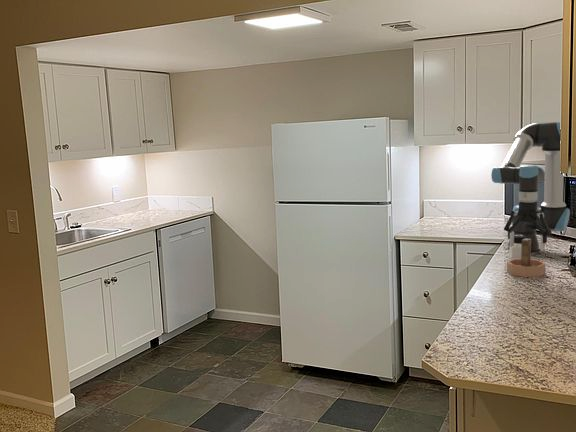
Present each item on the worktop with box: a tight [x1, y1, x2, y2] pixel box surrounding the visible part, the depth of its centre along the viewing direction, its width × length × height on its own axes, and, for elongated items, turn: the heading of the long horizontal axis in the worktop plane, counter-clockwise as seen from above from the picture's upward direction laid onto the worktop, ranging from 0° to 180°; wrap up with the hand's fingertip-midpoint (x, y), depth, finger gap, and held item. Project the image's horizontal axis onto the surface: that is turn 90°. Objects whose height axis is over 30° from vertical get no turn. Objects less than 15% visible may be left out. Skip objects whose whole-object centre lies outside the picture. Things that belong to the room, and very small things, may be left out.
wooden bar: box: [521, 238, 532, 266], centre depth 261 cm, size 4×2×14 cm, turn 136°
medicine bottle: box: [508, 235, 526, 261], centre depth 284 cm, size 7×7×12 cm
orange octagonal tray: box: [506, 258, 546, 278], centre depth 262 cm, size 15×15×4 cm
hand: (526, 248), depth 261 cm, fingers open, 13 cm apart
